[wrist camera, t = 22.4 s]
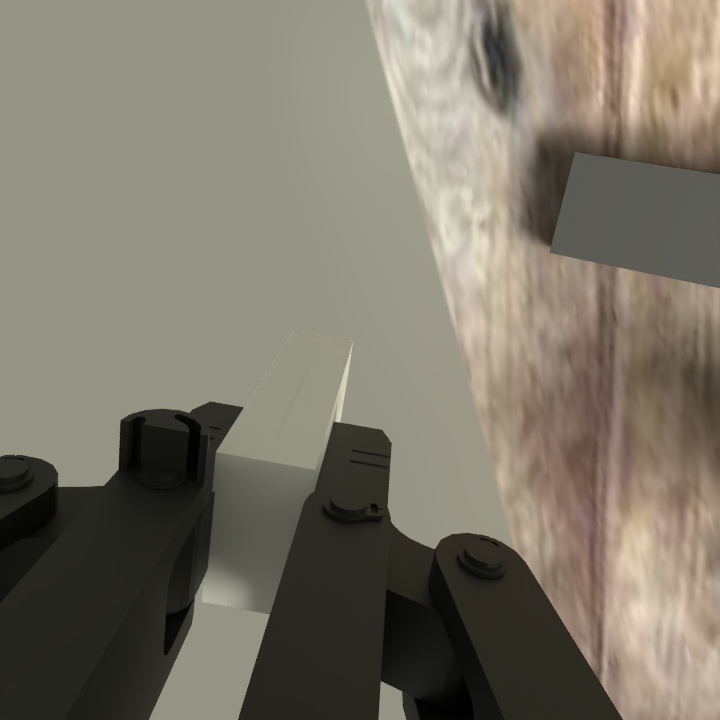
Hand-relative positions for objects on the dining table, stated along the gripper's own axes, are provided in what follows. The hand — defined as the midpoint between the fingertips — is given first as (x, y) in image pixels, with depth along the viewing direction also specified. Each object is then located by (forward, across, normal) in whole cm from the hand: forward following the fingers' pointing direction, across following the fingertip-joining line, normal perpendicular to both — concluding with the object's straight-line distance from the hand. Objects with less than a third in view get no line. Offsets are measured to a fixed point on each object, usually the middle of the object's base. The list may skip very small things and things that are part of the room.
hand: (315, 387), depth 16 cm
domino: (+27, -11, -4) cm, 30 cm away
